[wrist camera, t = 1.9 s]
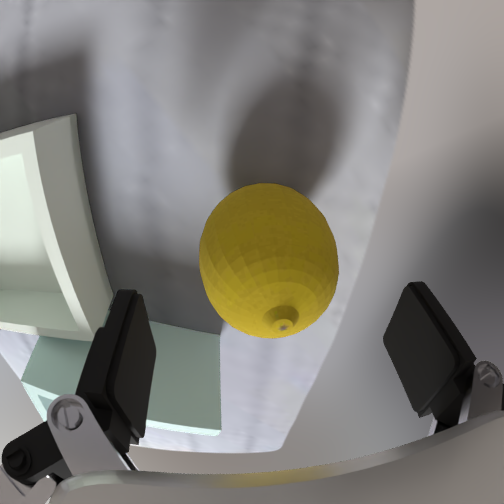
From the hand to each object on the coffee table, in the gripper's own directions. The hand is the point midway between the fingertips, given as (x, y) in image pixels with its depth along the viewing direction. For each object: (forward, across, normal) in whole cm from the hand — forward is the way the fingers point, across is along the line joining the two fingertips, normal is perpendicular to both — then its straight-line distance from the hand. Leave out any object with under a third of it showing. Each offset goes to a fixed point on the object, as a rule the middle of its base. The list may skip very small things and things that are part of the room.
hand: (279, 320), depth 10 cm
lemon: (+7, 0, -1) cm, 7 cm away
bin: (+7, +15, -1) cm, 17 cm away
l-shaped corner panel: (+8, +10, +13) cm, 18 cm away
